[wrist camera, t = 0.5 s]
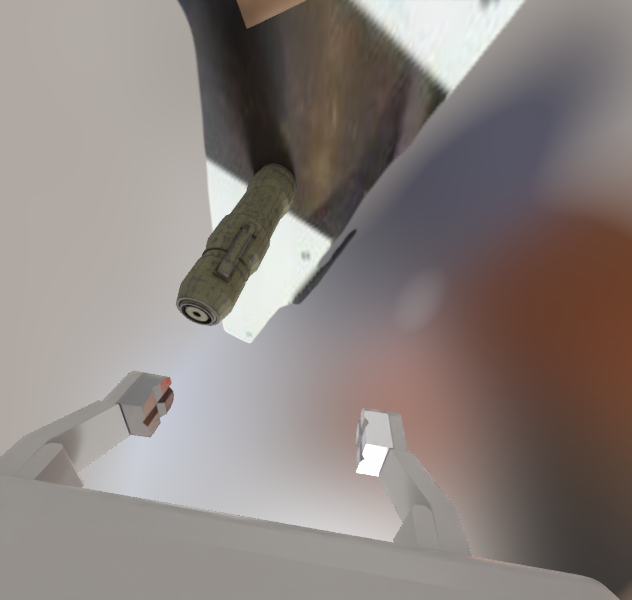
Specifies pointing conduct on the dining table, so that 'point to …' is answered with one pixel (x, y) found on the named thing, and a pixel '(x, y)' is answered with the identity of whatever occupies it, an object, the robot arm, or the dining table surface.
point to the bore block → (263, 9)
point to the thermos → (236, 247)
